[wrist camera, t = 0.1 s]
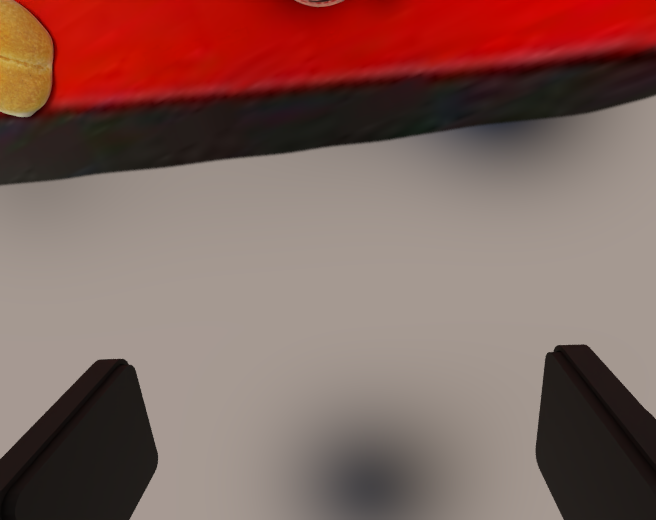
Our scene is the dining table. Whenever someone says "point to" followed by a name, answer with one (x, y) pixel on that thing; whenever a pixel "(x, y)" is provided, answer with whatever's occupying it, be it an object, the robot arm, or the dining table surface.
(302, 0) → the teacup with lid
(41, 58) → the bread roll
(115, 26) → the dining table surface
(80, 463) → the robot arm
